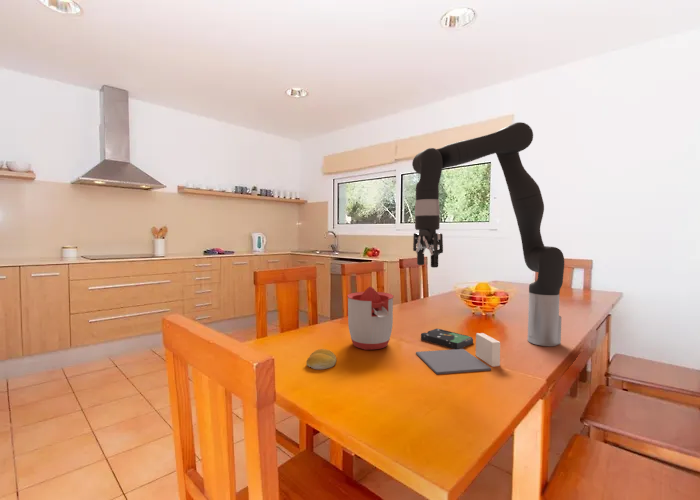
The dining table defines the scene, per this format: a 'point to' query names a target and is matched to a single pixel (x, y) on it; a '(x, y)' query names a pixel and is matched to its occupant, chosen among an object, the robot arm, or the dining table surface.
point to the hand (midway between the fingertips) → (427, 266)
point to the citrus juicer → (370, 318)
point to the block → (488, 349)
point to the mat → (452, 361)
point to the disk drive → (447, 338)
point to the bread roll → (321, 359)
